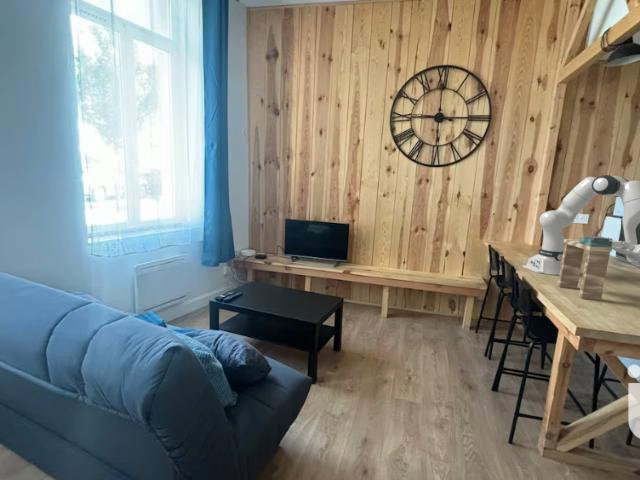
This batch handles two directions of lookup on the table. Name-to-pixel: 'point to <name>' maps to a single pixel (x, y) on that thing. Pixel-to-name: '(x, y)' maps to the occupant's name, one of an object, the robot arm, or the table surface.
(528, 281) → the table surface
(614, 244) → the beige and grey block
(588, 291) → the brown and teal frame
